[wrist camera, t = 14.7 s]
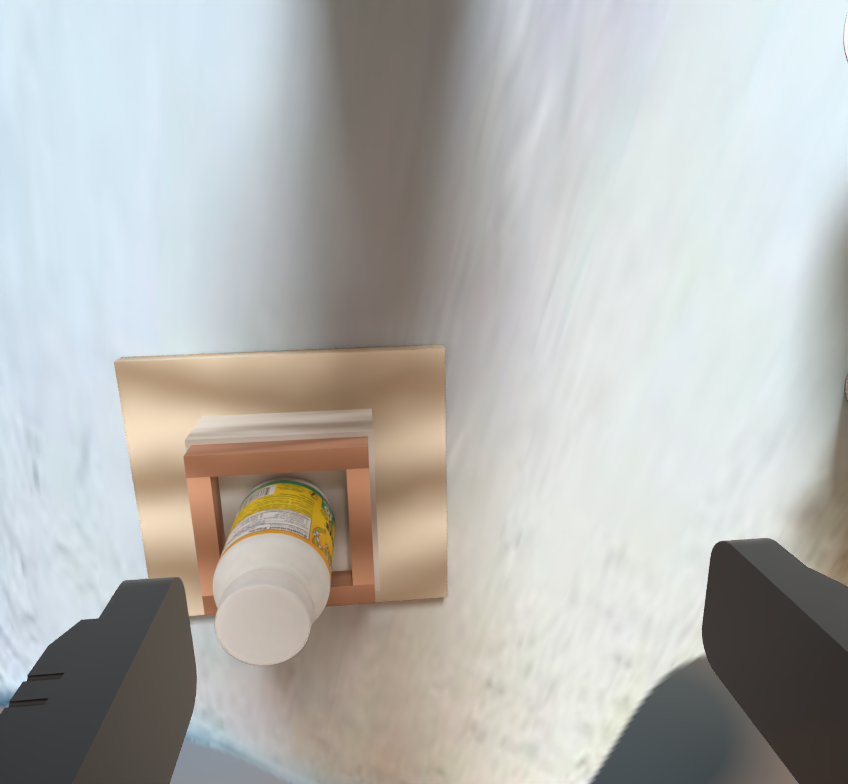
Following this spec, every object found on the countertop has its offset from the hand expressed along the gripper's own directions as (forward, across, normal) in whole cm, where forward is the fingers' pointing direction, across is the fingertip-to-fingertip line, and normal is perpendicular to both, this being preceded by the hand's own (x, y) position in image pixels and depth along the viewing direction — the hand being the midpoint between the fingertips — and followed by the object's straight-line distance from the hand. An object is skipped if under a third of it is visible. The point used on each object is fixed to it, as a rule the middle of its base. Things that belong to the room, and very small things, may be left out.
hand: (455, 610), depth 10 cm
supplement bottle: (+25, +6, +11) cm, 28 cm away
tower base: (+30, +6, +11) cm, 33 cm away
